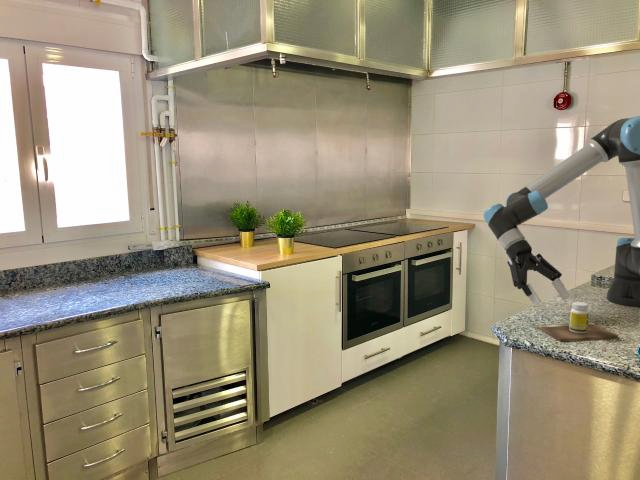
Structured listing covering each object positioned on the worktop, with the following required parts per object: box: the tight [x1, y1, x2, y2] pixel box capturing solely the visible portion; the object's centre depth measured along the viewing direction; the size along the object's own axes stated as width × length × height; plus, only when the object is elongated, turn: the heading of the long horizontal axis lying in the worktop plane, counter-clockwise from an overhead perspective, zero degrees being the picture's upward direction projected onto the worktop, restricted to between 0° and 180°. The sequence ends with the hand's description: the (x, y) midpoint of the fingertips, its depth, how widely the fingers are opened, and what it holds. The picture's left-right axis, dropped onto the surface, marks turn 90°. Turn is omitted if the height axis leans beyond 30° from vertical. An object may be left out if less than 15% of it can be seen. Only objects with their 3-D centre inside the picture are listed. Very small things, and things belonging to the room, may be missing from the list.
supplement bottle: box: [569, 301, 590, 333], centre depth 151 cm, size 5×5×8 cm
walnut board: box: [536, 321, 619, 343], centre depth 152 cm, size 18×12×1 cm, turn 98°
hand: (552, 300), depth 158 cm, fingers open, 13 cm apart
